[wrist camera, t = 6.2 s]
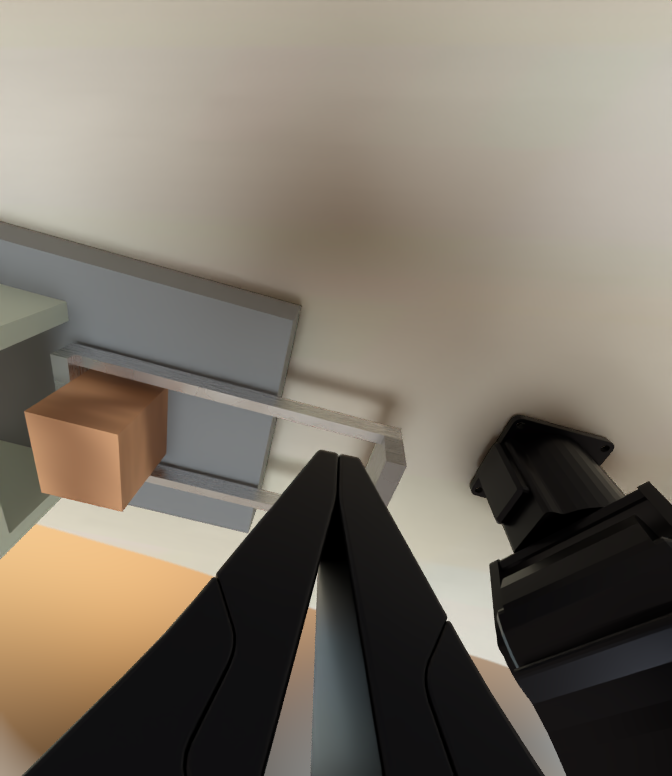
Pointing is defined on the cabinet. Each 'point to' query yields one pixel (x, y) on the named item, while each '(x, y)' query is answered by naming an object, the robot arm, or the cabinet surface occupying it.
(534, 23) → the cabinet surface
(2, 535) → the pale green tunnel
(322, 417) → the silver flat rectangular frame
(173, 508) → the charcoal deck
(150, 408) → the terracotta block
